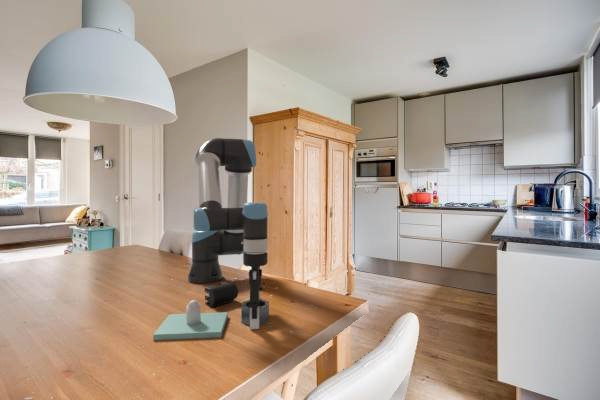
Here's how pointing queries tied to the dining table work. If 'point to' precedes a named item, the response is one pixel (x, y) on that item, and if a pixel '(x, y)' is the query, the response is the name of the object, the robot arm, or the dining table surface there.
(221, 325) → the post stand
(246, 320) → the collar
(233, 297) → the end cap
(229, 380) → the dining table surface
